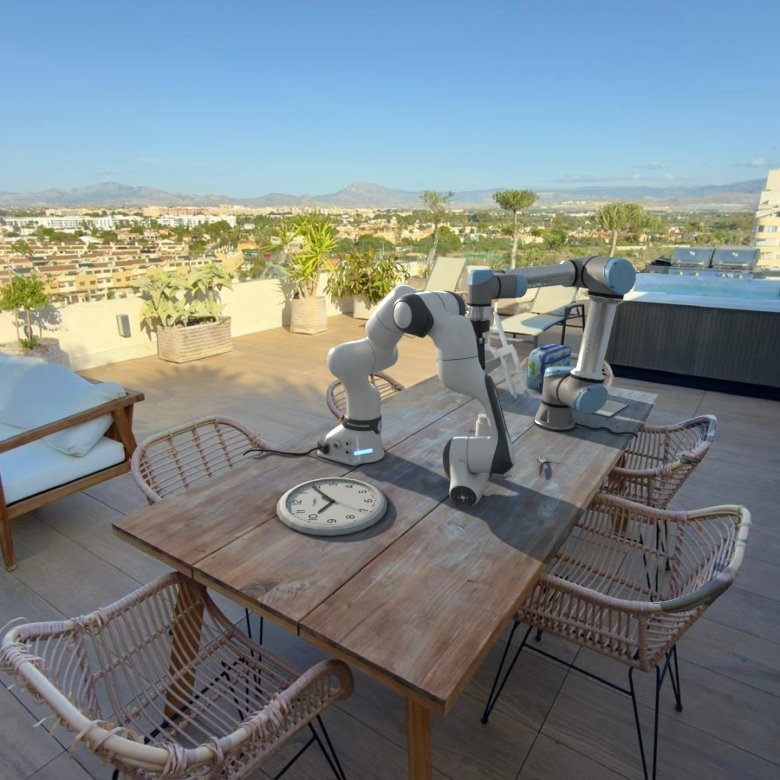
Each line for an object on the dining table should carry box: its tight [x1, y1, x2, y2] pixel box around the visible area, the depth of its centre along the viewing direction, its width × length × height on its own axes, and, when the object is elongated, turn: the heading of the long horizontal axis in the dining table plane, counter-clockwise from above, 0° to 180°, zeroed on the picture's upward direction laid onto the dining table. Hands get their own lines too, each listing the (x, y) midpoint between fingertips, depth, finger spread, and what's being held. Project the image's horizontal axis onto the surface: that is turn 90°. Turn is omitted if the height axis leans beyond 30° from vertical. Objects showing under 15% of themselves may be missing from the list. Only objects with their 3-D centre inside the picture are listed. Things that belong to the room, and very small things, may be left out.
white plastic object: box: [480, 310, 531, 400], centre depth 245 cm, size 37×45×31 cm
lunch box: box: [526, 343, 572, 394], centre depth 248 cm, size 26×11×21 cm, turn 135°
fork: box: [538, 451, 548, 475], centre depth 168 cm, size 3×16×2 cm, turn 160°
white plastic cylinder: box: [475, 413, 491, 436], centre depth 160 cm, size 5×5×19 cm
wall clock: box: [276, 476, 388, 537], centre depth 142 cm, size 30×2×30 cm
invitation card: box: [594, 399, 629, 418], centre depth 226 cm, size 21×1×15 cm
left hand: (482, 453), depth 162 cm, fingers open, 8 cm apart
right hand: (475, 382), depth 172 cm, fingers open, 13 cm apart
